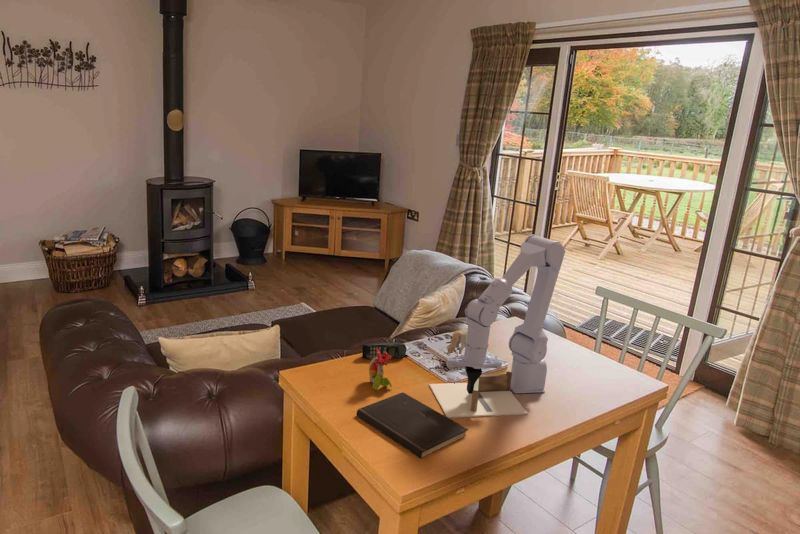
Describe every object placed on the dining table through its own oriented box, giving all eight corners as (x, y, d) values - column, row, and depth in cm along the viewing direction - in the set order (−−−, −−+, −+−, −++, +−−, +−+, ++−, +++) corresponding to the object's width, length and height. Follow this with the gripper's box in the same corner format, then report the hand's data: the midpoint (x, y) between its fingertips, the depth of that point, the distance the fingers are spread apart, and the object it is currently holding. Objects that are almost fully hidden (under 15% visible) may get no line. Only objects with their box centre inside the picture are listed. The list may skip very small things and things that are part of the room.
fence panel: (472, 391, 162) (474, 374, 160) (478, 392, 161) (480, 375, 160) (470, 410, 151) (472, 392, 150) (476, 411, 151) (478, 393, 150)
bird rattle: (362, 390, 163) (376, 392, 155) (357, 351, 164) (371, 350, 156) (381, 387, 166) (397, 388, 159) (376, 348, 167) (391, 347, 160)
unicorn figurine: (497, 351, 192) (502, 313, 188) (463, 368, 178) (467, 327, 174) (479, 344, 196) (484, 307, 193) (444, 360, 182) (448, 320, 179)
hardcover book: (402, 399, 157) (402, 391, 156) (467, 437, 141) (468, 429, 140) (356, 417, 146) (356, 409, 145) (420, 460, 130) (421, 451, 130)
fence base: (508, 388, 166) (510, 371, 164) (510, 390, 164) (512, 374, 163) (471, 389, 163) (473, 372, 162) (473, 392, 162) (475, 375, 160)
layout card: (501, 382, 170) (501, 381, 170) (527, 414, 153) (527, 412, 153) (429, 385, 165) (429, 383, 165) (447, 418, 148) (447, 416, 148)
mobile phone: (363, 345, 177) (411, 343, 180) (361, 341, 180) (409, 340, 183) (362, 360, 178) (410, 358, 181) (361, 356, 181) (408, 354, 184)
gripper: (452, 349, 148) (446, 397, 151) (507, 352, 150) (500, 400, 153) (447, 338, 155) (441, 385, 158) (500, 341, 157) (493, 387, 160)
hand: (470, 391), depth 156 cm, fingers closed, pressing on fence panel
